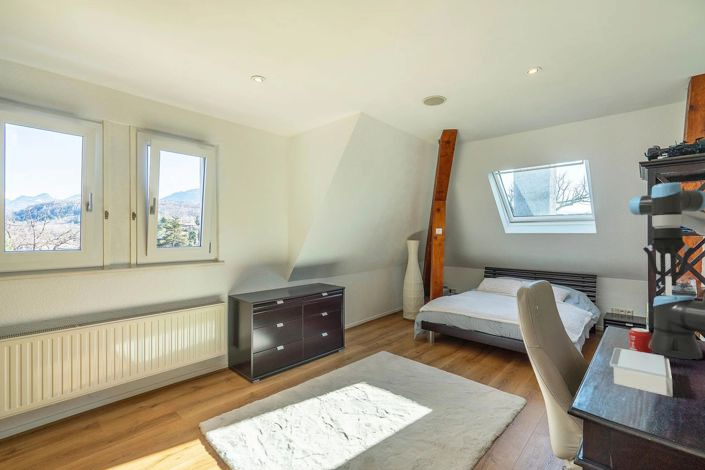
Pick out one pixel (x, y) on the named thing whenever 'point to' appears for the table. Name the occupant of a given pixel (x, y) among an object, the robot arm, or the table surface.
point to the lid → (638, 362)
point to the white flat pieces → (645, 380)
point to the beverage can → (640, 340)
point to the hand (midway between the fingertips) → (668, 294)
